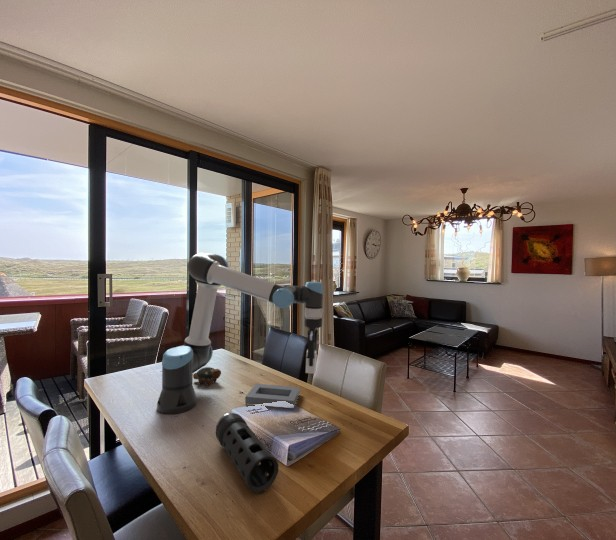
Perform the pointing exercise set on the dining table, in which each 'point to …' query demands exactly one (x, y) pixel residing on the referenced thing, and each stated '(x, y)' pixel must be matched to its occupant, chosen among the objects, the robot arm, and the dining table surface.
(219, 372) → the decorative turtle
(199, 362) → the robot arm
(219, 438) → the muzzle brake
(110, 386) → the dining table surface
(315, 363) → the plug
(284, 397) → the block
